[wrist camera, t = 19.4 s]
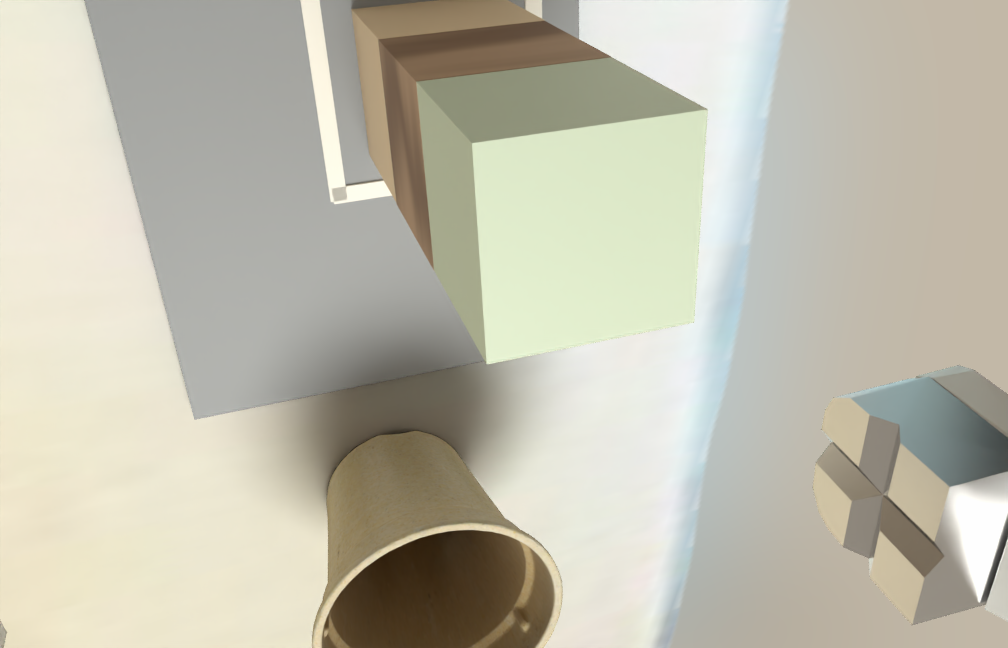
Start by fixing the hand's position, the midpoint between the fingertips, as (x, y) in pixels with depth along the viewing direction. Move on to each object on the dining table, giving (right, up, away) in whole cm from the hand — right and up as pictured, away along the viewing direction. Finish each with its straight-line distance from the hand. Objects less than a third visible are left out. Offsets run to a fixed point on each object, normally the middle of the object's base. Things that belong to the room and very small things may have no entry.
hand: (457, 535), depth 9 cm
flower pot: (-4, -5, +32) cm, 33 cm away
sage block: (+1, +6, +15) cm, 16 cm away
